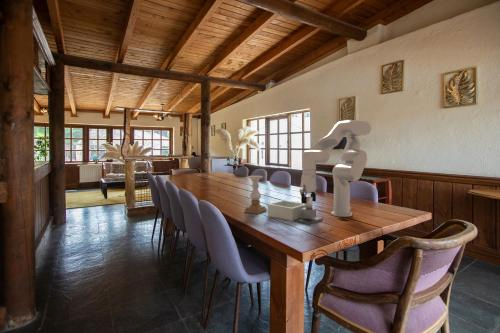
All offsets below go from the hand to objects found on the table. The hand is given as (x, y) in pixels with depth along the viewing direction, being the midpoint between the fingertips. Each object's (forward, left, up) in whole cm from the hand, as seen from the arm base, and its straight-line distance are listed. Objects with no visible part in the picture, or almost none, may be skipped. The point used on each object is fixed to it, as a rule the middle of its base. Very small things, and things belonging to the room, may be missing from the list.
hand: (308, 202), depth 158 cm
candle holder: (+3, -39, -11) cm, 41 cm away
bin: (0, -15, -11) cm, 19 cm away
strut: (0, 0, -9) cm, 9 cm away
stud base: (0, 0, -11) cm, 11 cm away
